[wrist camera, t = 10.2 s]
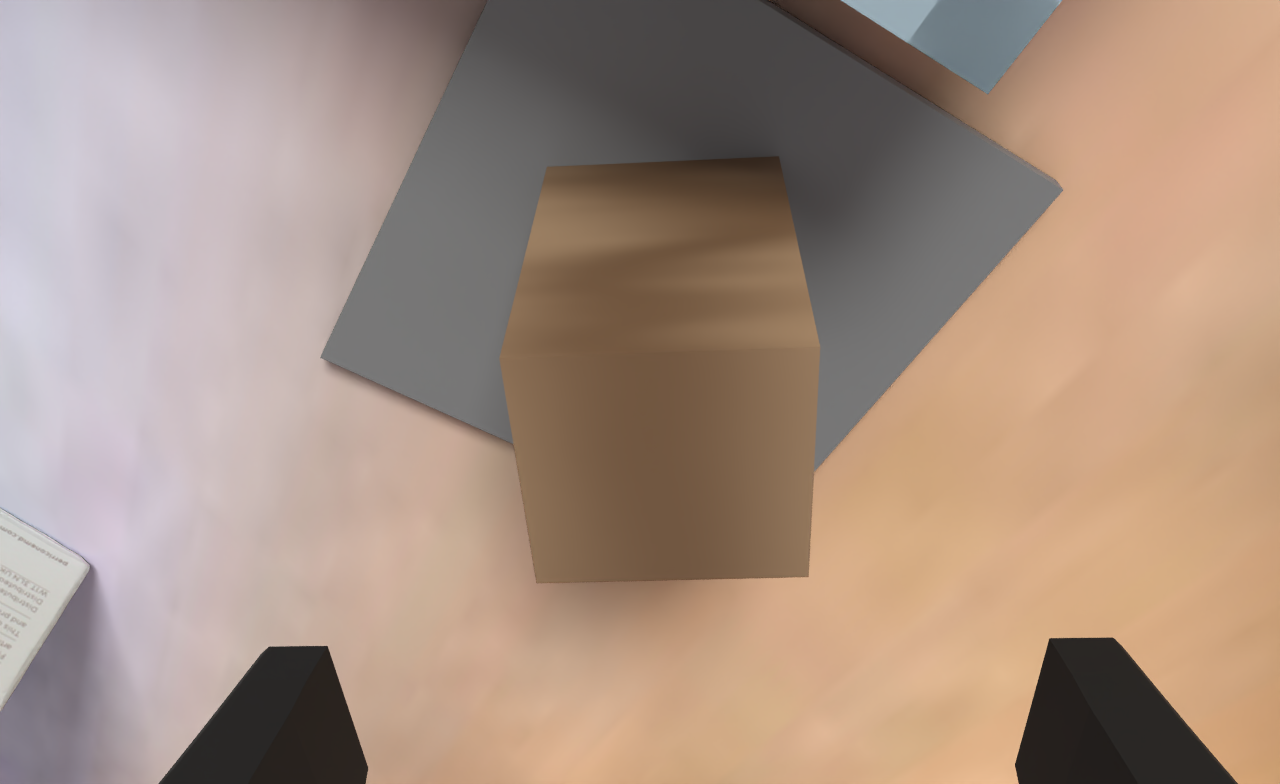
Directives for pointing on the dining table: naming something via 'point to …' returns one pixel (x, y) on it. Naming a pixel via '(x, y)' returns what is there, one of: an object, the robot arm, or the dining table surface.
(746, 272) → the walnut block
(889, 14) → the bay
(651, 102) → the mat
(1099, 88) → the dining table surface
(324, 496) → the dining table surface
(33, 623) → the supplement box
